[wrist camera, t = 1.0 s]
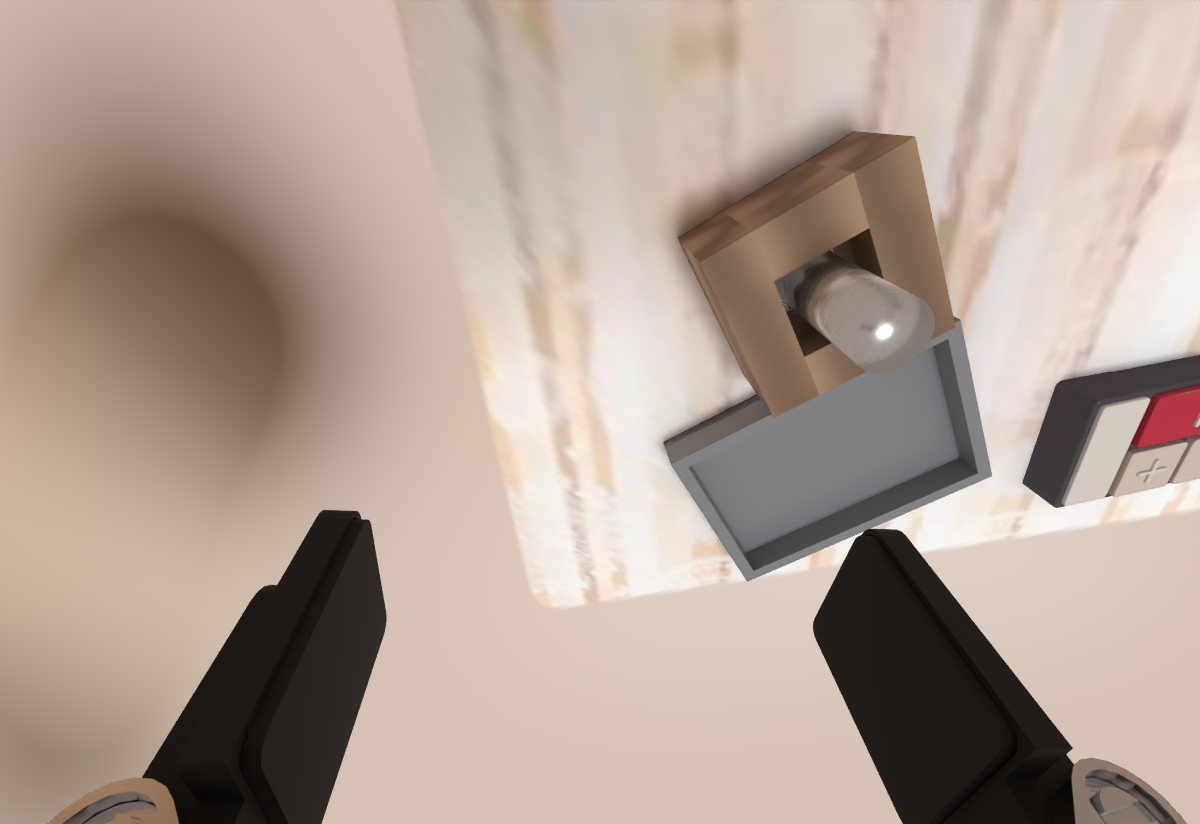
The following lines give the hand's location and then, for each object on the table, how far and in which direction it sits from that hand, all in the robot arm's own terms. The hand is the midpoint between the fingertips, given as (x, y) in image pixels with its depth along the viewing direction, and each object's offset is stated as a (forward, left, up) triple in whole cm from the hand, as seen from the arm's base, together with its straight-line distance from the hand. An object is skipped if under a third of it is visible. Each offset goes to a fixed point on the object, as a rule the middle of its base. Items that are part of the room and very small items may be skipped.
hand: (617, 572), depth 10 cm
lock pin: (-12, +9, -27) cm, 31 cm away
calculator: (-33, +37, -28) cm, 57 cm away
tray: (-9, +25, -27) cm, 38 cm away
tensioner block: (-12, +9, -27) cm, 31 cm away
